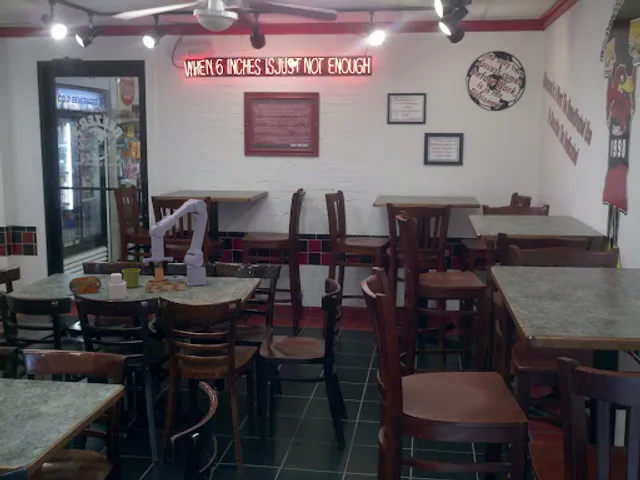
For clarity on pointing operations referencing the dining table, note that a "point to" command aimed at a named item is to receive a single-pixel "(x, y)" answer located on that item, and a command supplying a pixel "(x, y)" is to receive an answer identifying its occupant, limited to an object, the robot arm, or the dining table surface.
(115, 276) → the medicine bottle
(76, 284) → the tin
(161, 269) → the terracotta block
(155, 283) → the puzzle board
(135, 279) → the plant pot
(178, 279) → the slate cover
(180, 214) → the robot arm
